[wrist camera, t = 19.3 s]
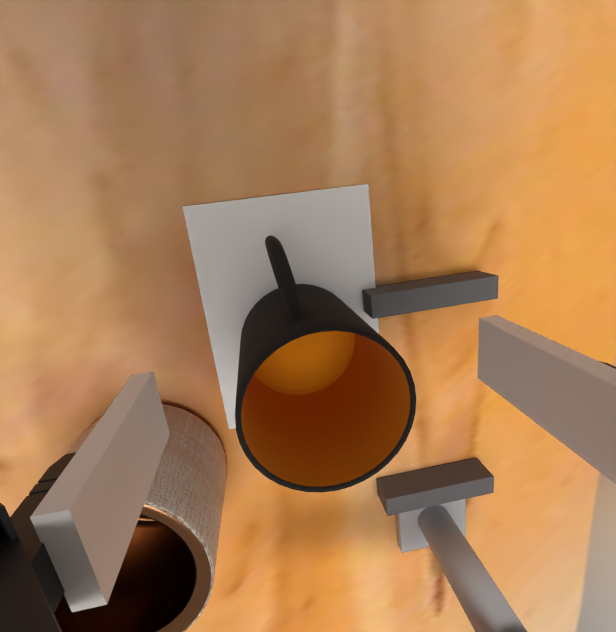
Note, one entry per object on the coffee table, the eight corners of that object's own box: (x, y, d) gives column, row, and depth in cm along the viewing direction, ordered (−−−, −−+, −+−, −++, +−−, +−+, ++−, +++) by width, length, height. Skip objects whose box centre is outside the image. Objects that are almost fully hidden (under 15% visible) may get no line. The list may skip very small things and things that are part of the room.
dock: (360, 288, 26) (427, 333, 16) (477, 270, 27) (609, 302, 17) (382, 548, 33) (439, 695, 23) (475, 527, 34) (570, 659, 24)
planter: (82, 388, 25) (-14, 484, 16) (239, 409, 28) (232, 505, 18) (69, 517, 28) (-21, 665, 19) (214, 528, 30) (198, 665, 21)
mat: (183, 206, 23) (182, 206, 23) (366, 184, 25) (368, 183, 24) (229, 426, 28) (228, 429, 27) (382, 397, 29) (383, 400, 29)
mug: (326, 214, 24) (378, 212, 14) (366, 373, 28) (431, 459, 18) (204, 250, 24) (171, 274, 14) (261, 408, 27) (268, 517, 17)
